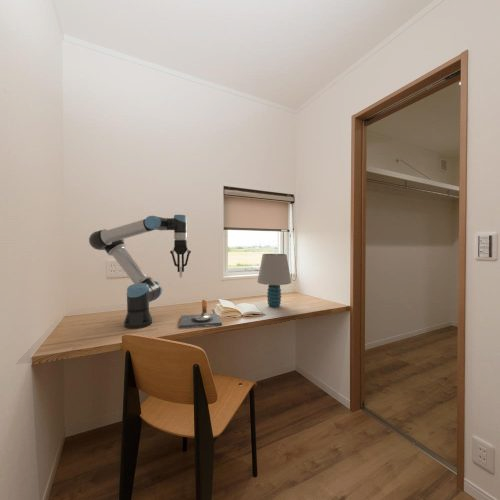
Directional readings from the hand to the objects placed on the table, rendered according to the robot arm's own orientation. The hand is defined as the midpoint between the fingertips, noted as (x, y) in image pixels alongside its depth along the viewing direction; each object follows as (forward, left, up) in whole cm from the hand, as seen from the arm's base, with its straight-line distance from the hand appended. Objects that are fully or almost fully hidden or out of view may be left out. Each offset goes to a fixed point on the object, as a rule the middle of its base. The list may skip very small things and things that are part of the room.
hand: (180, 277), depth 157 cm
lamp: (+67, +17, -27) cm, 74 cm away
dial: (+13, -7, -25) cm, 29 cm away
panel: (+12, -8, -26) cm, 30 cm away
